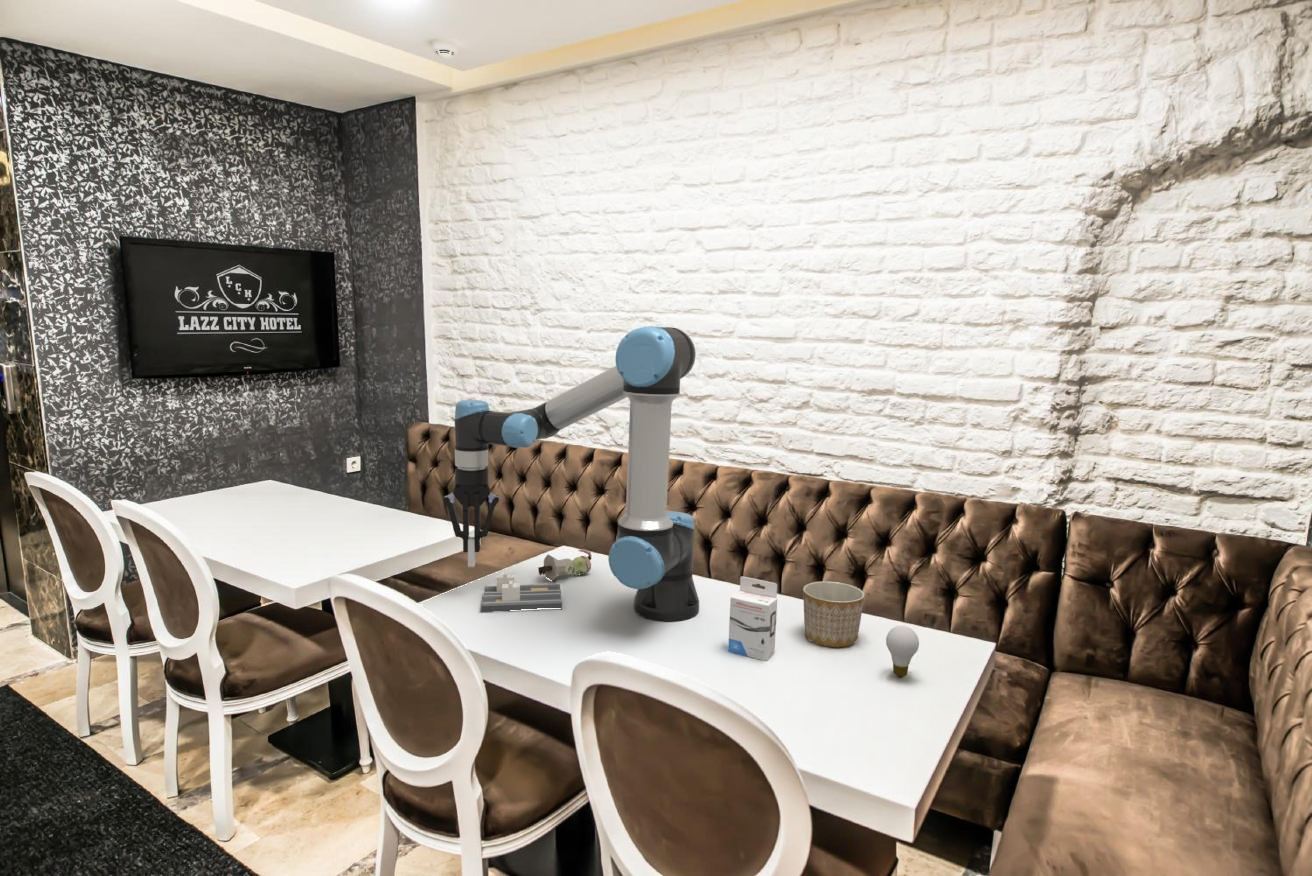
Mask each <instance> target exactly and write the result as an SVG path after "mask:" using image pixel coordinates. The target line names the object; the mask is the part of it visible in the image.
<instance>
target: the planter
mask: <svg viewBox="0 0 1312 876" xmlns="http://www.w3.org/2000/svg"><path fill="white" fill-rule="evenodd" d="M802 596H803V599H802V600H803V601H802V602H803V618H804V619H803V620H804V621H803V623H804V634H805V636H806V638H807V639H809V641H810V642H813V643H815V644H817V645H820V646H823V647H828V648H846V647H849V646H850V647H851V646H852V645H854V644H855V642H857V641H858V637H859V632H860V631H859V630H860V625H861V621H862V614H863V607H864V606H863V605H864V600H865V592H864V591H863V590H862V589H860V588H858V587H857V586H854V585H853V584H852V585H851V584H847V583H843V582H837V581H829V580H828V581H827V580H826V581H825V580H824V581H823V580H822V581H814V582H811V583H808V584H805V585H804V586H803V588H802Z"/></svg>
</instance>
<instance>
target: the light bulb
mask: <svg viewBox="0 0 1312 876" xmlns="http://www.w3.org/2000/svg"><path fill="white" fill-rule="evenodd" d="M885 643H886V644H885V645H886V647H887V649H888V651H889V654H890V657H891V660H892V674H894V675H895V676H896V677H897V678H900V679H902V678H905V676H907V675H908V672H909V665H910V663H911V660H912V658H913V657H914V655H915V654H916V653H917V652H918V650H919V647H920V640H919V637H918V635H917V633H916V632H915V630H914V629H912V628H911V627H909V626H906V625H897V626H894V627H893V628H891V629H890V630H889V631H888V632H887V635H886V637H885Z"/></svg>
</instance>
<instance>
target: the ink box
mask: <svg viewBox="0 0 1312 876" xmlns="http://www.w3.org/2000/svg"><path fill="white" fill-rule="evenodd" d="M758 584H759V586H761V587H764V588H760V587H756V586H753V585H758ZM739 589H740V590H738V591H737V592H735V593H734V594H733V595H731V596H730V604H729V605H730V608H729V623H728V624H729V626H728V647H727V650H728V652H730V653H734V654H737V655H741V656H745V657H749V658H753V659H757V660H760V661H764V662H766V661H768V660H769V659H770V658H771V657H772V655H773V654H774V653H775V649H776V634H777V633H776V632H777V613H778V612H777V611H778V598H777V595H778V584H777V583H776V582H772V581H767V580H762V579H757V578H753V577H747V576H744V575H743V576H740V577H739Z"/></svg>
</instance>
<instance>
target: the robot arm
mask: <svg viewBox="0 0 1312 876" xmlns="http://www.w3.org/2000/svg"><path fill="white" fill-rule="evenodd" d="M696 353H697V352H696V348H695V344H694V342H693V340H692V338H691V337H690V336H689V335H688V334H687V333H686V332H684V331H683V330H682V329H679V328H678V327H677V328H676V327H672V326H671V327H668V326H661V327H660V326H653V325H649V326H642V327H638V328H634V329H633V330H631V331H629V332H628V333H627V334H626V335H624V336H623V338H621V340H620V341H619V343H618V346H617V348H616V352H615V366H613V367H611V368H609V369H607V370H604V372H601V373H599V374H597V375H595V376H594V377H591V378H590V379H588V380H586V381H584V382H581V383H580V384H578V385H576V386H574V387H572V388H571V389H568V390H566V391H564V392H563V393H561V394H559V395H557V396H555V397H553V398H551V399H548V400H547V401H546V402H543V403H541V404H540V405H537V406H536V407H533V408H528V409H522V410H517V411H516V410H515V411H511V412H506V411H505V412H503V411H492V410H490V408H489V406H490V405H489V402H488V401H485V400H482V399H481V400H480V399H479V400H478V399H470V400H469V399H467V400H466V399H465V400H460V401H458V402H456V404H455V408H454V409H455V412H454V418H453V419H454V420H453V421H454V436H455V437H454V438H455V439H454V440H455V445H454V465H455V467H456V468H455V469H454V488H453V489H452V492H451V493H449V494H447V495H446V494H445V496H444V497H443V499H442V501H443V503H444V504H445V506H446V507H447V509H448V513H449V517H450V521H451V524H452V529H453V532H454V536H455V537H456V538H461V539H462V551H463V553H467V568H475V565H476V553H479V552H480V551H481V539H482V538H485V537H487V536H488V534H489V531H490V526H491V522H492V518H493V514H494V511H495V507H496V506H497V504H499V502H500V495H497V494H494V493H493V492H491V488H490V486H489V469H488V466H489V445H496V446H503V447H509V448H515V449H517V448H530V447H531V446H532V445H533V443H535V442H536V441H537V440H542V439H549V438H551V437H554V436H555V435H556V434H558V433H559V432H561V430H563V429H565V428H567V427H569V426H571V425H574V424H575V423H577V422H579V421H582V420H583V419H586V418H588V417H590V416H591V415H594V414H596V413H598V412H599V411H602V410H603V409H604V410H605V408H606V409H607V408H608V407H610V406H612V405H614V404H616V403H618V402H620V401H622V400H625V399H627V398H628V400H629V423H628V424H629V425H628V426H629V428H628V446H627V447H628V449H627V450H628V451H627V473H626V474H627V475H626V500H625V513H624V514H623V515H622V516H621V517H620V518H619V519H618V522H617V540H616V541H615V542H613V544H612V545H611V547H610V549H609V552H608V566H609V568H610V571H611V573H612V575H613V576H614V577H615V578H616V579H617V580H618V582H620V584H622V585H623V586H625V587H627V588H629V589H633V590H637V591H636V593H635V596H634V599H633V610H634V612H635V613H636V614H637V615H639V616H641V617H643V618H645V619H649V620H654V621H660V622H677V621H683V620H688V619H691V618H693V617H695V616H696V615H698V614H699V611H700V599H699V596H698V593H697V589H696V586H695V581H694V579H693V572H694V571H693V567H694V542H695V531H696V529H695V519H694V517H693V516H692V515H691V514H689V513H686V512H682V511H681V512H679V511H674V510H667V507H668V490H669V489H668V488H669V466H670V465H669V464H670V448H671V447H670V446H671V445H670V444H671V428H672V427H671V426H672V424H671V422H672V405H673V404H672V403H673V401H674V400H676V399H677V397H679V396H680V389H681V379H682V378H684V377H686V376H687V375H688V374H689V373H690V372H691V370H692V369H693V367H694V365H695V361H696V357H697V356H696ZM487 499H488V503H489V505H488V506H489V507H488V510H487V514H486V517H485V521H484V526H483V528H482V530H481V506H482V505H483V503H484V502H485V501H486V500H487ZM455 500H457V501H458V502H459V504H460V505H461V506H462V529H461V526H460V522H459V518H458V513H457V509H456V506H455ZM470 507H473V511H474V512H473V517H474V518H473V519H474V520H473V527H474V533H473V536H470Z"/></svg>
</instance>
